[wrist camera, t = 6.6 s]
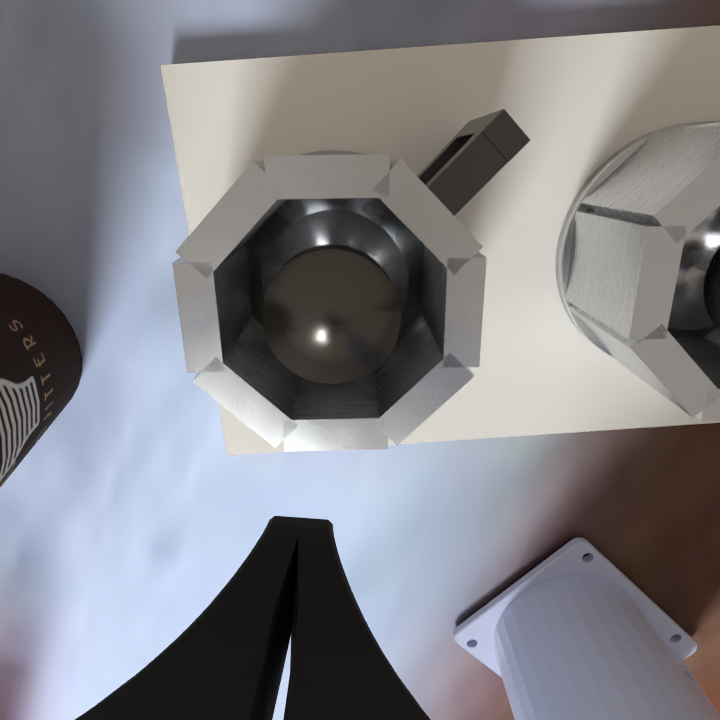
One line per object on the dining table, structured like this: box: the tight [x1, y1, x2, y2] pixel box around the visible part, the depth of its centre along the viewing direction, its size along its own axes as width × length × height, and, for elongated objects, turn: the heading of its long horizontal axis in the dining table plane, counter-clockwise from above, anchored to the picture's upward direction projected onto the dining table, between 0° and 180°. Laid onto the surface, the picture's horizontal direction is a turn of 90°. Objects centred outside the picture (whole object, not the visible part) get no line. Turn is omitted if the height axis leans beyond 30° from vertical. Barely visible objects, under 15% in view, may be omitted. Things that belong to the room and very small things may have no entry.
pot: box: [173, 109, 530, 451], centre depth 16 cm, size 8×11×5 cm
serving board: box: [160, 25, 720, 456], centre depth 20 cm, size 22×14×1 cm, turn 94°
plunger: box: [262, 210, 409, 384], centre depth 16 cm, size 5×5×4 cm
